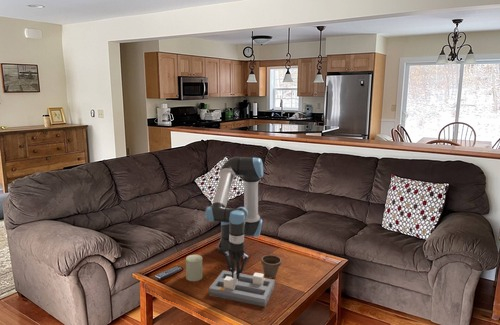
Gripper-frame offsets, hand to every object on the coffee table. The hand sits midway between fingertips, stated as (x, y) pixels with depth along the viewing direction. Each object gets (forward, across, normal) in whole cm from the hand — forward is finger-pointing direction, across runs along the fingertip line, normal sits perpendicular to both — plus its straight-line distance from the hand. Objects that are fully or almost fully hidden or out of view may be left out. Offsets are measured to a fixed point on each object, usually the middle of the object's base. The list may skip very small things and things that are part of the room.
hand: (235, 283), depth 193 cm
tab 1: (+4, -3, 0) cm, 5 cm away
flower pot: (+6, +13, +25) cm, 29 cm away
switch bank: (+6, +3, +4) cm, 8 cm away
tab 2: (+4, +10, +9) cm, 14 cm away
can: (+6, -27, +8) cm, 29 cm away
